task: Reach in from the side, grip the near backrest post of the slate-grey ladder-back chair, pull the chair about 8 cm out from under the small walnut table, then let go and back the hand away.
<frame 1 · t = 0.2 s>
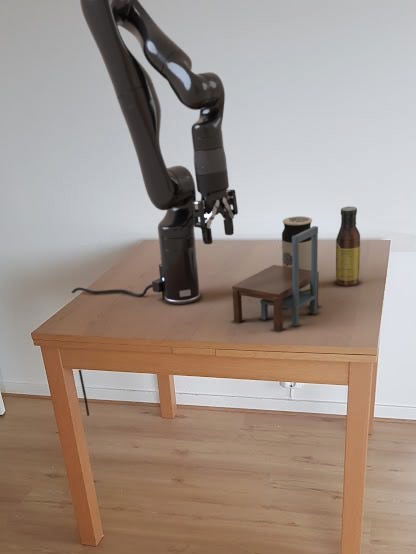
hand: (218, 239, 166), 17 cm above the table, tool pointing down, fingers open, 8 cm apart
sauce bottle: (347, 283, 183), on the table
travel mug: (297, 288, 183), on the table
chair: (289, 274, 160), point 11 cm above the table, slide at 0.0 cm
walnut table: (276, 314, 167), on the table
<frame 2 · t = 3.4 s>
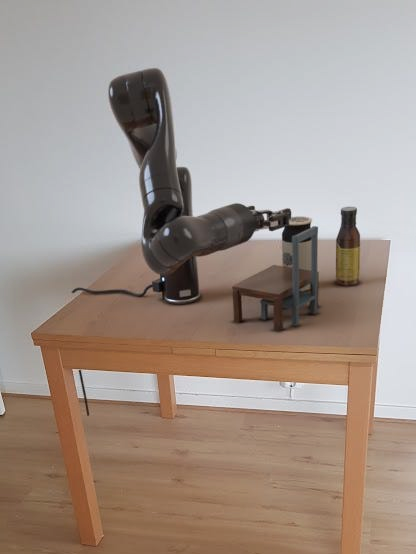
hand: (270, 212, 139), 28 cm above the table, tool horizontal, fingers open, 8 cm apart
nothing on the table moved.
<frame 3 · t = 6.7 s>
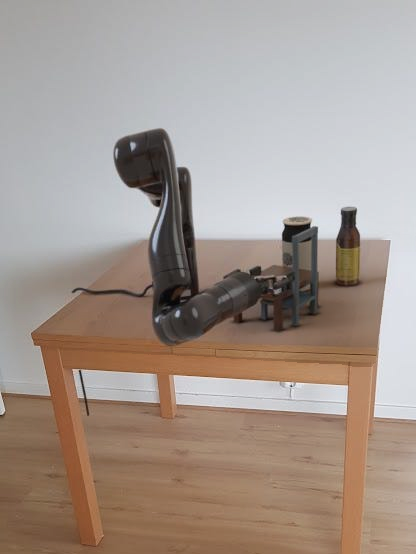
hand: (276, 272, 147), 15 cm above the table, tool horizontal, fingers open, 8 cm apart
nothing on the table moved.
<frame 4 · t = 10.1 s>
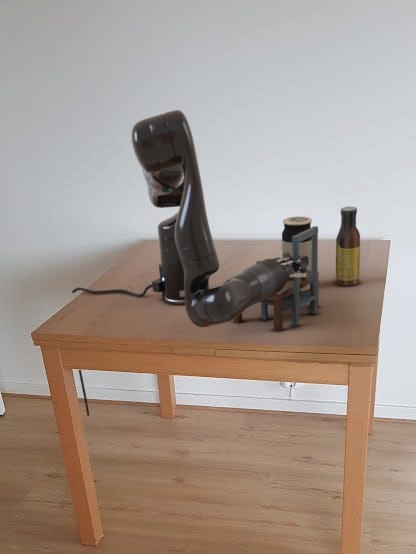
hand: (302, 259, 154), 15 cm above the table, tool horizontal, fingers closed
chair: (289, 274, 160), point 11 cm above the table, slide at 0.0 cm, touching gripper
everything else where it was.
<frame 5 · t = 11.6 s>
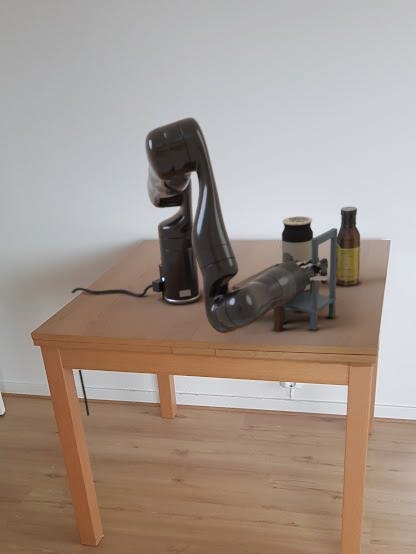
hand: (321, 262, 152), 15 cm above the table, tool horizontal, fingers closed
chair: (307, 277, 157), point 11 cm above the table, slide at 5.0 cm, touching gripper
everything else where it was.
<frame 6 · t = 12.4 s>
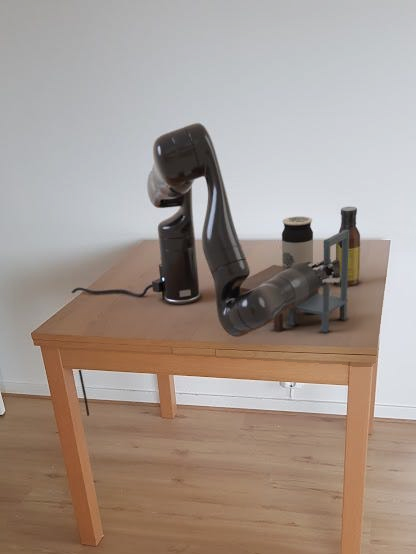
hand: (333, 263, 150), 15 cm above the table, tool horizontal, fingers closed
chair: (318, 278, 156), point 11 cm above the table, slide at 7.9 cm, touching gripper
everything else where it was.
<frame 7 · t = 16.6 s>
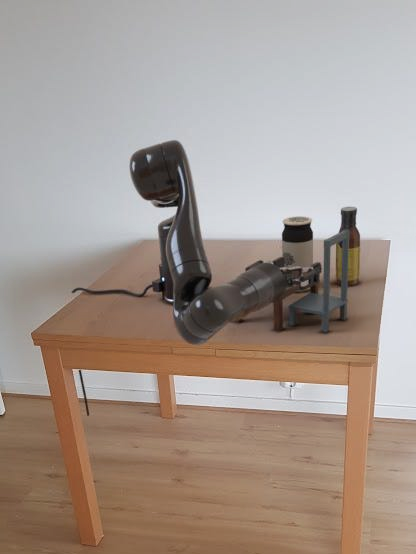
hand: (300, 264, 139), 19 cm above the table, tool horizontal, fingers open, 8 cm apart
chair: (318, 278, 156), point 11 cm above the table, slide at 7.9 cm
everything else where it was.
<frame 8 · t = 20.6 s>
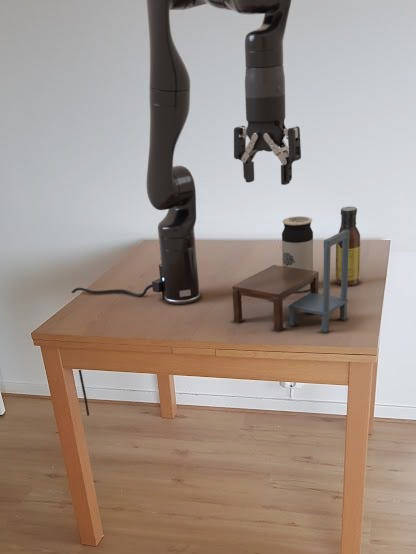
hand: (267, 182, 137), 34 cm above the table, tool pointing down, fingers open, 8 cm apart
nothing on the table moved.
at the end: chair slide at 7.9 cm; the gripper is holding nothing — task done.
